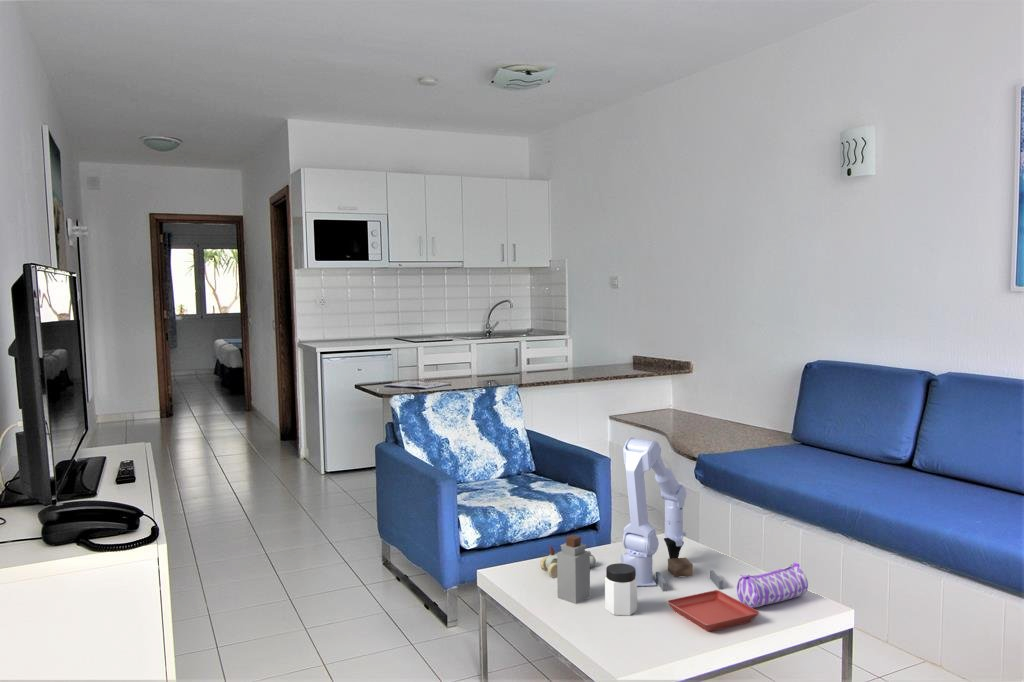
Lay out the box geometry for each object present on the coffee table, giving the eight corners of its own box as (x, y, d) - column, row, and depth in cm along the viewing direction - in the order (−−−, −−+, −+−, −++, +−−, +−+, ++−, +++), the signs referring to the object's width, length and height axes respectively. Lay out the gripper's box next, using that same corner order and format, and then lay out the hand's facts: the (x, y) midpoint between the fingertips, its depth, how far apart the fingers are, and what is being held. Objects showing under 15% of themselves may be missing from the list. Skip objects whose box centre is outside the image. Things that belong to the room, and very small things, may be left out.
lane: (663, 591, 230) (663, 583, 230) (655, 579, 239) (655, 572, 239) (722, 589, 231) (722, 581, 231) (713, 577, 240) (713, 570, 240)
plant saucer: (665, 611, 217) (665, 599, 217) (717, 599, 224) (717, 588, 224) (706, 637, 201) (706, 625, 200) (760, 624, 208) (761, 612, 208)
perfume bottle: (590, 596, 227) (589, 536, 226) (575, 603, 222) (575, 542, 221) (572, 590, 232) (571, 532, 230) (557, 597, 227) (557, 537, 225)
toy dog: (600, 567, 251) (600, 540, 251) (561, 583, 238) (561, 555, 238) (571, 558, 260) (571, 532, 259) (533, 573, 247) (532, 546, 246)
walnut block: (674, 577, 241) (674, 565, 241) (667, 570, 247) (667, 558, 247) (692, 576, 242) (692, 564, 242) (685, 569, 248) (685, 557, 248)
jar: (642, 613, 215) (642, 570, 214) (617, 618, 212) (617, 576, 211) (624, 601, 223) (624, 560, 222) (600, 606, 220) (600, 565, 219)
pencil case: (786, 587, 232) (786, 557, 231) (812, 598, 224) (812, 566, 223) (733, 603, 221) (733, 571, 220) (758, 615, 213) (758, 582, 212)
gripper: (692, 526, 244) (692, 568, 245) (679, 513, 259) (679, 552, 260) (670, 527, 244) (670, 569, 245) (659, 513, 258) (659, 553, 259)
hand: (673, 560), depth 252 cm, fingers closed
